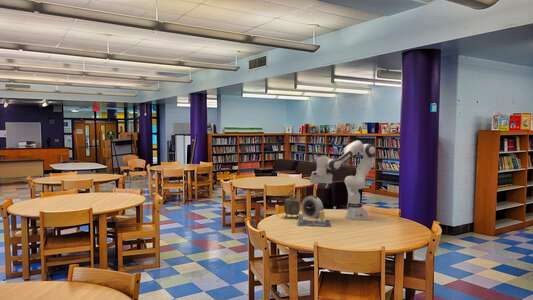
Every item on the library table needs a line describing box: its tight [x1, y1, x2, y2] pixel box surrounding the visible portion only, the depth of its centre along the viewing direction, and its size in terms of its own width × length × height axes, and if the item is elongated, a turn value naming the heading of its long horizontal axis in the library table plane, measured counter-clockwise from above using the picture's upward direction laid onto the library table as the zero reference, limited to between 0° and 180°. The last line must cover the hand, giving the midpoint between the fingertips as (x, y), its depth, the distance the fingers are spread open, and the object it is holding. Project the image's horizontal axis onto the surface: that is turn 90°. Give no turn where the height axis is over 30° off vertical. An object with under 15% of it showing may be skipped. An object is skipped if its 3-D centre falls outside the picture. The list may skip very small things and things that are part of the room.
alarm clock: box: [300, 195, 324, 219], centre depth 368 cm, size 21×8×20 cm, turn 43°
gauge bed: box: [297, 213, 332, 228], centre depth 338 cm, size 28×16×7 cm, turn 86°
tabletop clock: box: [283, 190, 301, 219], centre depth 359 cm, size 14×9×25 cm, turn 84°
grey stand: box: [303, 210, 327, 222], centre depth 336 cm, size 18×11×10 cm, turn 86°
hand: (320, 188), depth 354 cm, fingers open, 8 cm apart
